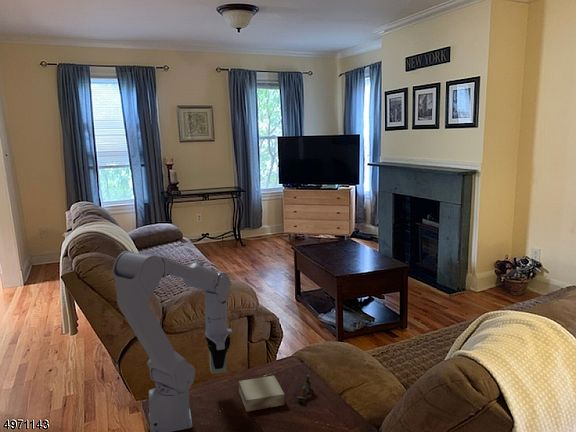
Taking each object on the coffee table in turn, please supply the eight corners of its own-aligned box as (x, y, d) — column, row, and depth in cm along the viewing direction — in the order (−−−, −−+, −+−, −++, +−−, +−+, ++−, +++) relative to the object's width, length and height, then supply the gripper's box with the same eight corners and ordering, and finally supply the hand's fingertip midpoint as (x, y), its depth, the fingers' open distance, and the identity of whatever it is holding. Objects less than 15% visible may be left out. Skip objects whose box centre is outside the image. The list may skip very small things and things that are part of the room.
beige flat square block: (246, 411, 107) (246, 400, 107) (239, 391, 117) (238, 381, 116) (284, 404, 110) (284, 393, 110) (274, 385, 120) (274, 375, 119)
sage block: (211, 374, 113) (210, 352, 112) (209, 367, 117) (209, 346, 116) (226, 371, 114) (226, 350, 113) (224, 365, 118) (223, 344, 117)
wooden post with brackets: (313, 384, 119) (311, 373, 117) (305, 409, 113) (303, 398, 110) (307, 383, 120) (305, 372, 117) (299, 408, 113) (297, 396, 111)
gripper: (236, 323, 108) (237, 374, 109) (227, 305, 122) (228, 350, 123) (207, 327, 106) (209, 378, 107) (201, 308, 119) (203, 354, 121)
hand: (217, 364), depth 115 cm, fingers closed on sage block, 4 cm apart
